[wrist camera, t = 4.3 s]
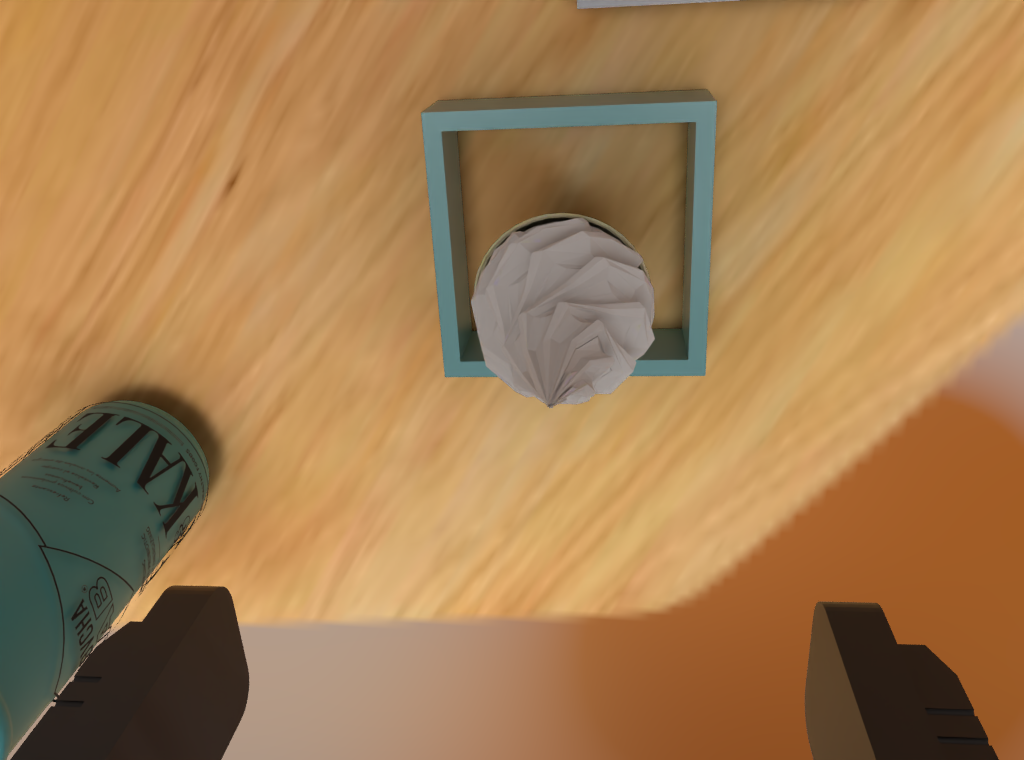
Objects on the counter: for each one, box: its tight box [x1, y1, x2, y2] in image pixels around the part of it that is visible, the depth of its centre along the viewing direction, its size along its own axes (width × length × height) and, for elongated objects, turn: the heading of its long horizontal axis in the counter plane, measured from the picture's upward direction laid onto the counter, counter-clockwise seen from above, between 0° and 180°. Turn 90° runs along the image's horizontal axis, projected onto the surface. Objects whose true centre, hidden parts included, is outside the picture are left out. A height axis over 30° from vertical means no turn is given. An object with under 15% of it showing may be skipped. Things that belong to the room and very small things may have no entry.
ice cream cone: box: [471, 213, 655, 408], centre depth 25 cm, size 5×5×15 cm
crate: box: [421, 89, 717, 377], centre depth 31 cm, size 9×9×3 cm
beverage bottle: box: [0, 400, 209, 760], centre depth 29 cm, size 6×7×20 cm
